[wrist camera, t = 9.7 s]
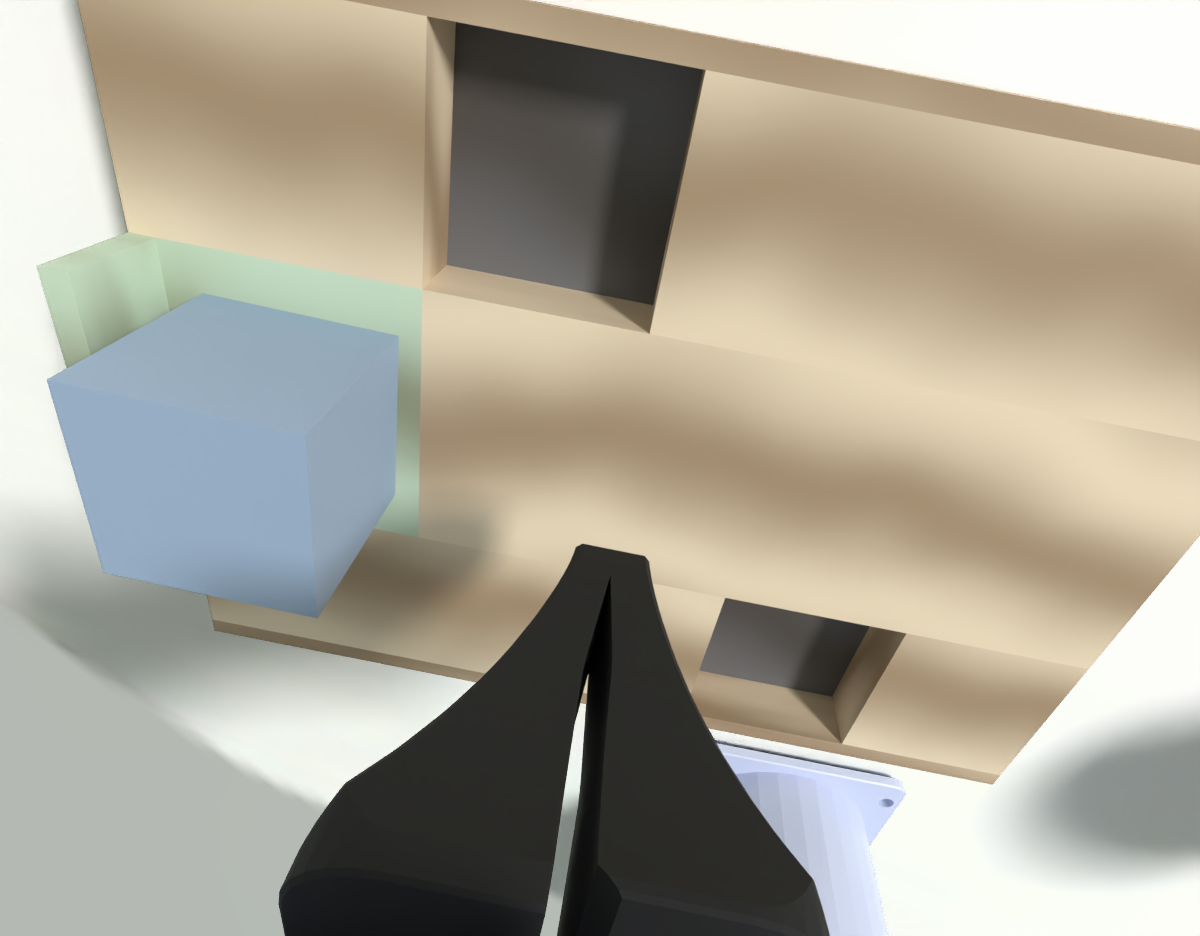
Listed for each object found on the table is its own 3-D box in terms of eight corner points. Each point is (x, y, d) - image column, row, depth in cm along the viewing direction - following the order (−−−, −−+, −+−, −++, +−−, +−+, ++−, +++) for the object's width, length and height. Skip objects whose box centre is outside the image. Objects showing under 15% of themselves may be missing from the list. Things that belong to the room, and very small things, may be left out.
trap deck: (971, 729, 23) (1024, 865, 20) (248, 587, 23) (164, 694, 20) (1390, 166, 13) (1662, 222, 10) (136, -77, 14) (-77, -113, 10)
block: (395, 494, 18) (317, 618, 14) (226, 457, 18) (103, 572, 14) (398, 335, 16) (305, 435, 12) (202, 292, 16) (46, 379, 12)
